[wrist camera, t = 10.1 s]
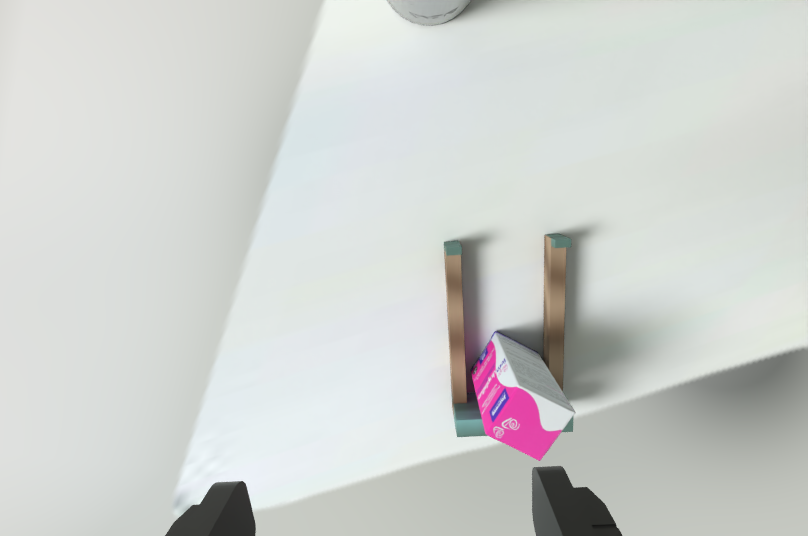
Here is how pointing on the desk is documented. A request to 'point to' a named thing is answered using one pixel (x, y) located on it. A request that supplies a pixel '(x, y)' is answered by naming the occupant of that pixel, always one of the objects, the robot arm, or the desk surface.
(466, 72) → the desk surface
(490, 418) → the supplement box
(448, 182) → the desk surface
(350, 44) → the desk surface
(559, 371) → the guide lane
